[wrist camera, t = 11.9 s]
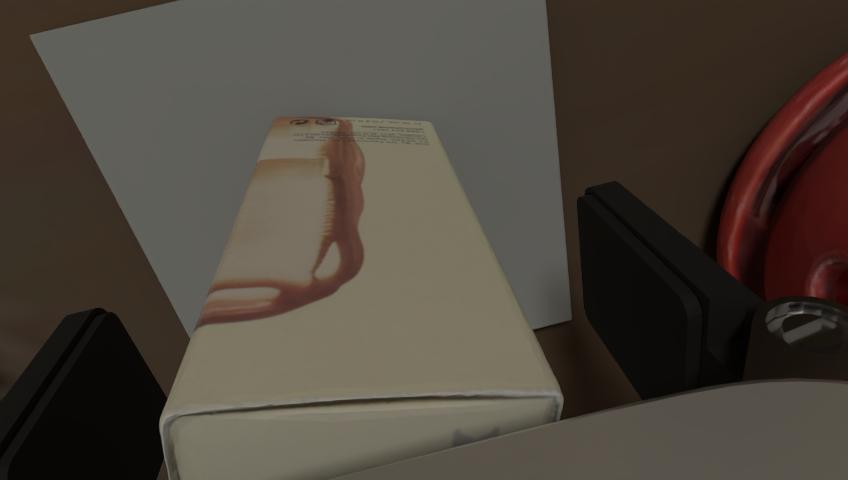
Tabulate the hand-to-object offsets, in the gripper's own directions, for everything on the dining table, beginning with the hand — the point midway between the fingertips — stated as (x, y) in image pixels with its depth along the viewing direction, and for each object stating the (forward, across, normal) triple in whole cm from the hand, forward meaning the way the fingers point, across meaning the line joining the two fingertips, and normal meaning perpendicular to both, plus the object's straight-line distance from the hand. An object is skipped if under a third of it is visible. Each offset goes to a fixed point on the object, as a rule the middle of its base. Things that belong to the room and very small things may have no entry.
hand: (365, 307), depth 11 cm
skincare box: (+5, 0, 0) cm, 5 cm away
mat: (+6, 0, 0) cm, 6 cm away
